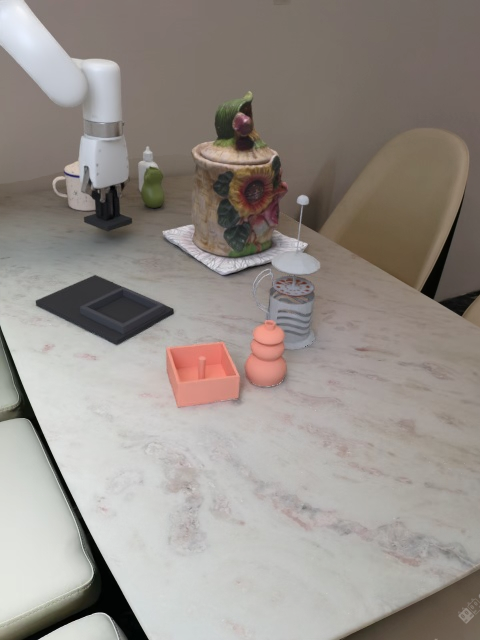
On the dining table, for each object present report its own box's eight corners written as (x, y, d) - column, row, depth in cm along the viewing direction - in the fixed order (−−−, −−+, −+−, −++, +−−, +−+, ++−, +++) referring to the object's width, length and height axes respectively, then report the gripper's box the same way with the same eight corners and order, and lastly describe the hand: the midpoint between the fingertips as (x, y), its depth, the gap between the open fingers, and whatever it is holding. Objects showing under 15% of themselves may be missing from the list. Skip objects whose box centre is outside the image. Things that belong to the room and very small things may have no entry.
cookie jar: (157, 237, 135) (154, 84, 117) (241, 218, 149) (249, 79, 131) (224, 280, 120) (232, 112, 102) (310, 253, 135) (330, 102, 117)
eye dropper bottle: (153, 188, 162) (152, 143, 155) (160, 195, 158) (159, 149, 151) (138, 190, 160) (136, 144, 153) (144, 197, 156) (142, 150, 149)
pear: (156, 202, 154) (155, 162, 148) (168, 208, 151) (168, 168, 145) (138, 205, 150) (136, 166, 145) (149, 212, 147) (148, 172, 142)
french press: (321, 349, 102) (342, 207, 88) (254, 350, 100) (265, 206, 86) (308, 319, 110) (326, 185, 96) (246, 320, 108) (255, 183, 94)
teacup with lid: (102, 198, 153) (98, 151, 146) (108, 210, 146) (105, 162, 140) (53, 200, 149) (47, 153, 142) (57, 213, 142) (51, 164, 135)
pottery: (177, 407, 86) (177, 350, 80) (166, 370, 93) (165, 315, 88) (294, 391, 91) (301, 337, 86) (275, 357, 99) (280, 305, 93)
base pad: (35, 305, 106) (33, 293, 105) (95, 279, 116) (94, 267, 115) (117, 345, 98) (116, 332, 96) (173, 313, 108) (173, 301, 106)
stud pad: (84, 222, 129) (81, 190, 125) (108, 214, 134) (107, 183, 131) (107, 231, 126) (106, 199, 122) (132, 223, 131) (131, 192, 128)
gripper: (119, 119, 127) (122, 203, 137) (58, 129, 115) (66, 221, 125) (145, 126, 124) (146, 212, 134) (85, 138, 112) (91, 231, 122)
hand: (108, 215), depth 129 cm, fingers closed on stud pad, 2 cm apart
